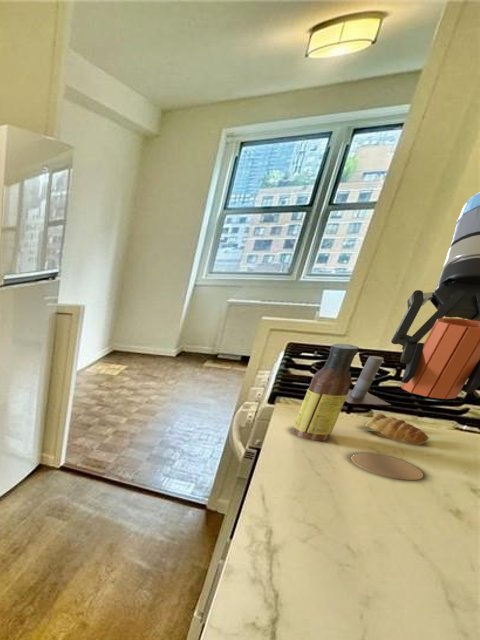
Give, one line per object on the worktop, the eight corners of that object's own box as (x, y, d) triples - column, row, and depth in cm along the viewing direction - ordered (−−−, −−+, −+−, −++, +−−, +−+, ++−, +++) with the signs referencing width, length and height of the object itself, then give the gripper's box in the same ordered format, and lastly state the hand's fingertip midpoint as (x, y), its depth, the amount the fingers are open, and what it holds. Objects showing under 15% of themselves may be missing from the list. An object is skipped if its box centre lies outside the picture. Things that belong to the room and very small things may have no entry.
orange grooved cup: (433, 385, 87) (471, 318, 81) (468, 400, 81) (512, 329, 75) (390, 383, 88) (425, 317, 82) (422, 398, 82) (462, 328, 76)
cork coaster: (394, 457, 96) (395, 454, 96) (437, 484, 87) (438, 481, 87) (338, 454, 97) (339, 451, 97) (374, 480, 89) (376, 477, 88)
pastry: (430, 442, 101) (440, 426, 99) (414, 450, 98) (424, 433, 96) (374, 425, 108) (382, 409, 106) (358, 431, 106) (366, 416, 104)
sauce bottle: (333, 438, 103) (377, 347, 94) (319, 445, 100) (363, 353, 91) (297, 427, 108) (335, 339, 99) (283, 433, 105) (321, 344, 96)
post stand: (361, 396, 123) (383, 352, 117) (388, 410, 115) (413, 364, 109) (322, 394, 124) (342, 351, 118) (346, 408, 116) (368, 363, 111)
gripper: (547, 289, 82) (513, 407, 79) (387, 278, 93) (353, 381, 90) (580, 259, 76) (545, 386, 73) (405, 251, 87) (368, 361, 83)
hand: (439, 383), depth 81 cm, fingers closed on orange grooved cup, 7 cm apart
